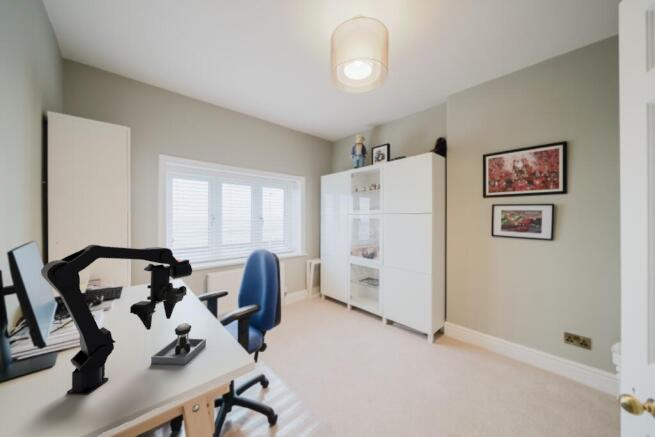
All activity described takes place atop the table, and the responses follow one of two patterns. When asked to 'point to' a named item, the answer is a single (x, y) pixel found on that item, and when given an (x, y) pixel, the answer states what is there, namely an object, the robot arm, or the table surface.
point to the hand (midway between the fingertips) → (159, 323)
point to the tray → (178, 359)
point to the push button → (182, 339)
